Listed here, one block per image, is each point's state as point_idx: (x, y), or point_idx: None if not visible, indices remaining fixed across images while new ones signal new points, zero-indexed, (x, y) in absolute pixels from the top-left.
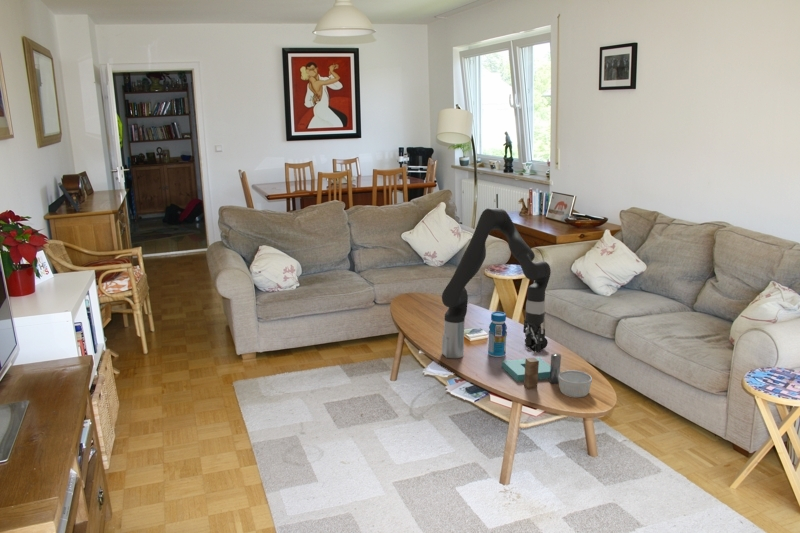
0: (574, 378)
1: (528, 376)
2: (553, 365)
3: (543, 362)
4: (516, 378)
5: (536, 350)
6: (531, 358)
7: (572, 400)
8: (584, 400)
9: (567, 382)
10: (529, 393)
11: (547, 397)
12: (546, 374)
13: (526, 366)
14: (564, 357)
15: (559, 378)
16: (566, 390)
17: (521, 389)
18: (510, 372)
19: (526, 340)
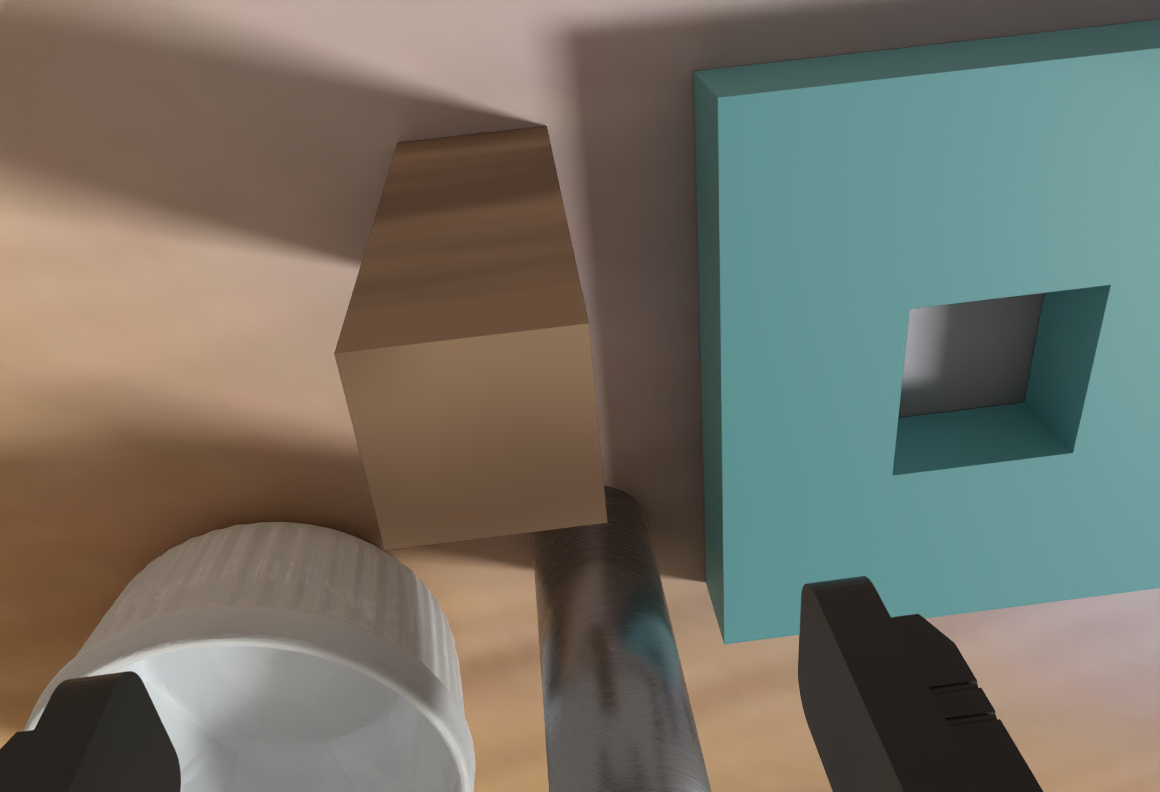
0: (434, 750)
1: (397, 208)
2: (568, 685)
3: (1018, 584)
4: (746, 73)
5: (49, 734)
6: (560, 450)
7: (46, 560)
8: (63, 664)
9: (65, 677)
10: (241, 108)
11: (110, 316)
12: (715, 513)
13: (506, 257)
14: (1143, 775)
15: (225, 624)
16: (141, 584)
17: (397, 30)
18: (983, 49)
19: (872, 699)
